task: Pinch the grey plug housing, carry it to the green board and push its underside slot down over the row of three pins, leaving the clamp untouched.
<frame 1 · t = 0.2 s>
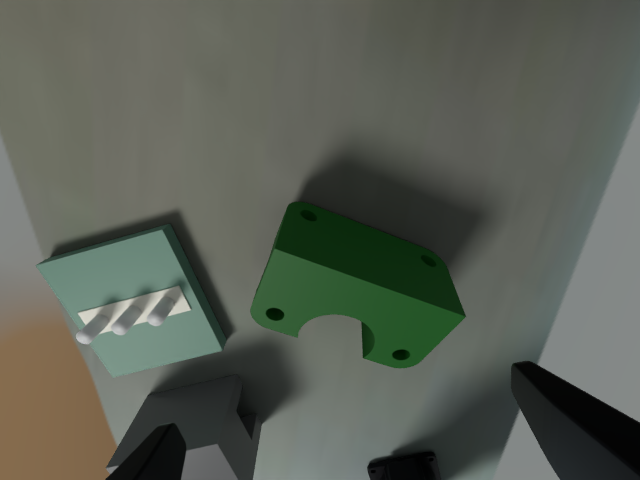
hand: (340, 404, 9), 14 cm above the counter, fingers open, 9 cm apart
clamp: (346, 266, 23), on the counter
plug housing: (206, 409, 28), on the counter
pin board: (143, 301, 24), on the counter
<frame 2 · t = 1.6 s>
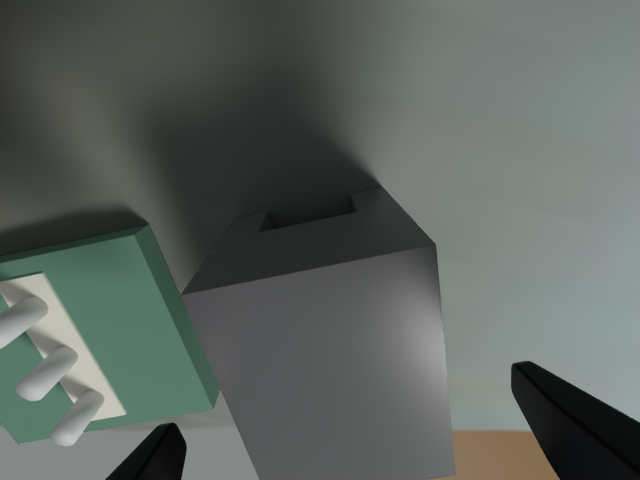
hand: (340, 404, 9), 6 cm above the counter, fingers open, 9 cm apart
plug housing: (328, 287, 14), on the counter
pin board: (86, 335, 15), on the counter
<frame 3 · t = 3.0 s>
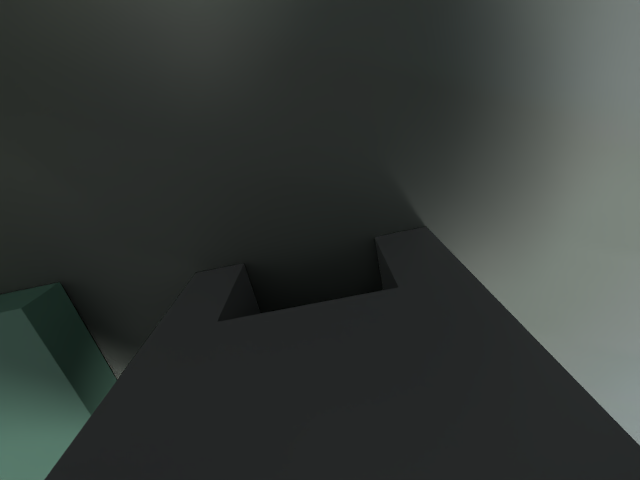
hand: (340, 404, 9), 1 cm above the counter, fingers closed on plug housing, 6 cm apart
plug housing: (337, 370, 10), on the counter, touching gripper
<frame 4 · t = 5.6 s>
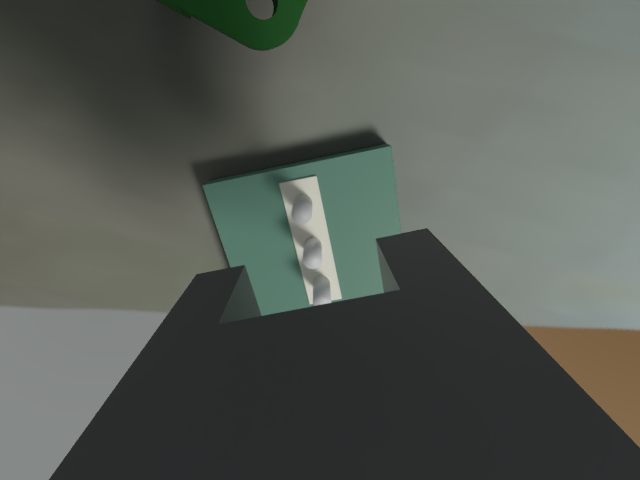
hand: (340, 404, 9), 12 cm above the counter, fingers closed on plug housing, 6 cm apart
plug housing: (338, 371, 10), point 11 cm above the counter, touching gripper
pin board: (313, 236, 19), on the counter
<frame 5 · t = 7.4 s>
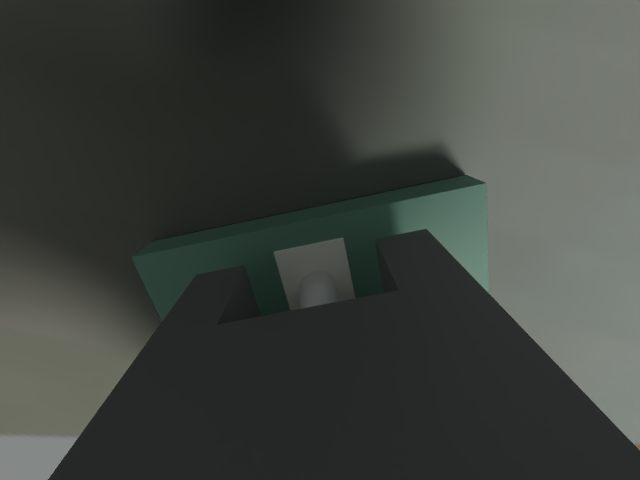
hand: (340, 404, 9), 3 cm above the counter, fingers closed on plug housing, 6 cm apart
plug housing: (337, 371, 10), point 2 cm above the counter, touching gripper
pin board: (332, 327, 12), on the counter
when the fingers open (3 cm above the counter, at t = 8.6 s): plug housing stays where it is, resting on pin board.
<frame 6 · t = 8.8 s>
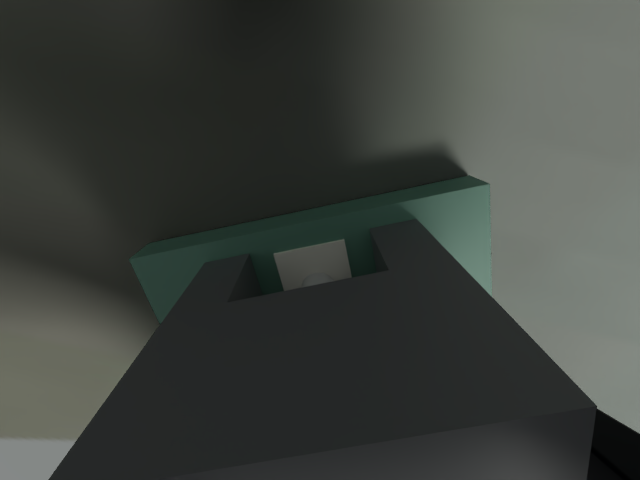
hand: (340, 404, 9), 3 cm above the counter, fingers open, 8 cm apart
plug housing: (336, 353, 10), point 1 cm above the counter, touching pin board
pin board: (332, 329, 12), on the counter
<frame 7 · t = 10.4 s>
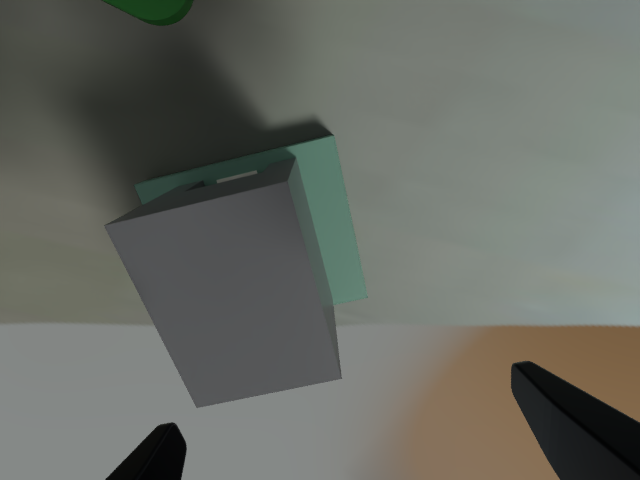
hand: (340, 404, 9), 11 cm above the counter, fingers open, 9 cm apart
plug housing: (260, 246, 17), point 1 cm above the counter, touching pin board
pin board: (262, 237, 18), on the counter
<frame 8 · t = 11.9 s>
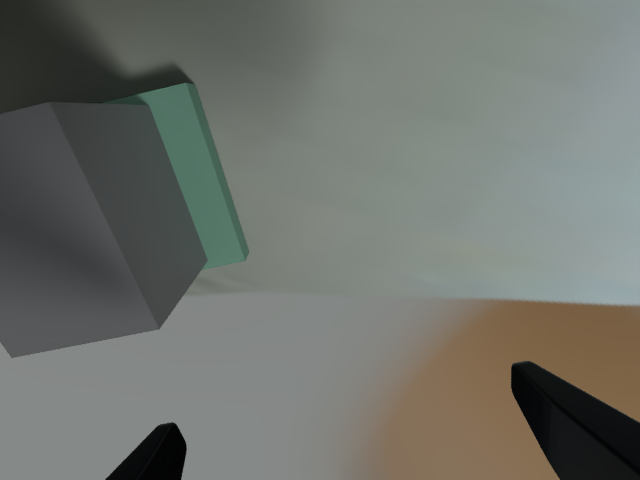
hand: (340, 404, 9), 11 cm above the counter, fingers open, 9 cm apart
plug housing: (124, 202, 16), point 1 cm above the counter, touching pin board
pin board: (135, 195, 17), on the counter
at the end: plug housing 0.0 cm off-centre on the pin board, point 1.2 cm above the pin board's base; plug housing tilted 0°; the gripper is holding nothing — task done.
